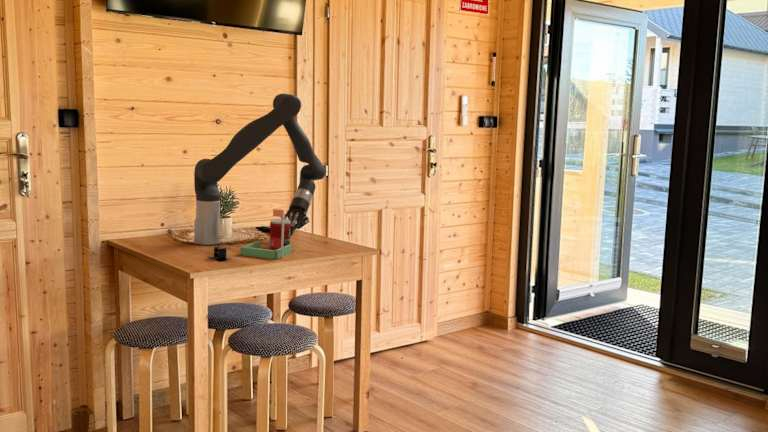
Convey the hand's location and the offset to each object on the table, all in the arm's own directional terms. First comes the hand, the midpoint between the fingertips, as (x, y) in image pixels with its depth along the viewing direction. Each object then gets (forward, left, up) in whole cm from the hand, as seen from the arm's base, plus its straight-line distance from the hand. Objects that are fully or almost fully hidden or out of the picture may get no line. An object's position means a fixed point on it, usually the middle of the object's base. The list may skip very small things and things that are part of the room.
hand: (288, 235), depth 287 cm
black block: (-22, -29, -5) cm, 37 cm away
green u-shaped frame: (-6, -18, -4) cm, 19 cm away
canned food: (-3, -7, -4) cm, 9 cm away
